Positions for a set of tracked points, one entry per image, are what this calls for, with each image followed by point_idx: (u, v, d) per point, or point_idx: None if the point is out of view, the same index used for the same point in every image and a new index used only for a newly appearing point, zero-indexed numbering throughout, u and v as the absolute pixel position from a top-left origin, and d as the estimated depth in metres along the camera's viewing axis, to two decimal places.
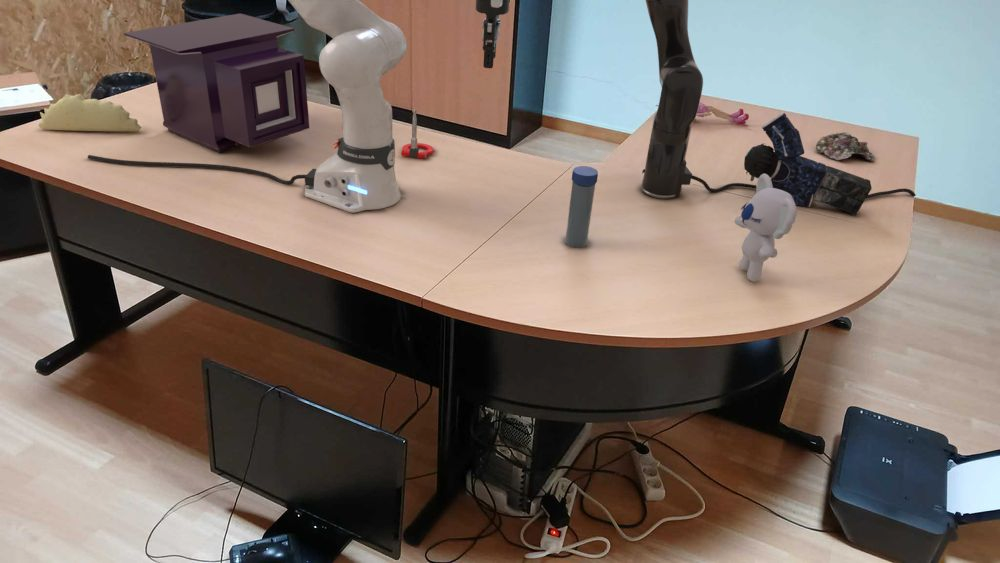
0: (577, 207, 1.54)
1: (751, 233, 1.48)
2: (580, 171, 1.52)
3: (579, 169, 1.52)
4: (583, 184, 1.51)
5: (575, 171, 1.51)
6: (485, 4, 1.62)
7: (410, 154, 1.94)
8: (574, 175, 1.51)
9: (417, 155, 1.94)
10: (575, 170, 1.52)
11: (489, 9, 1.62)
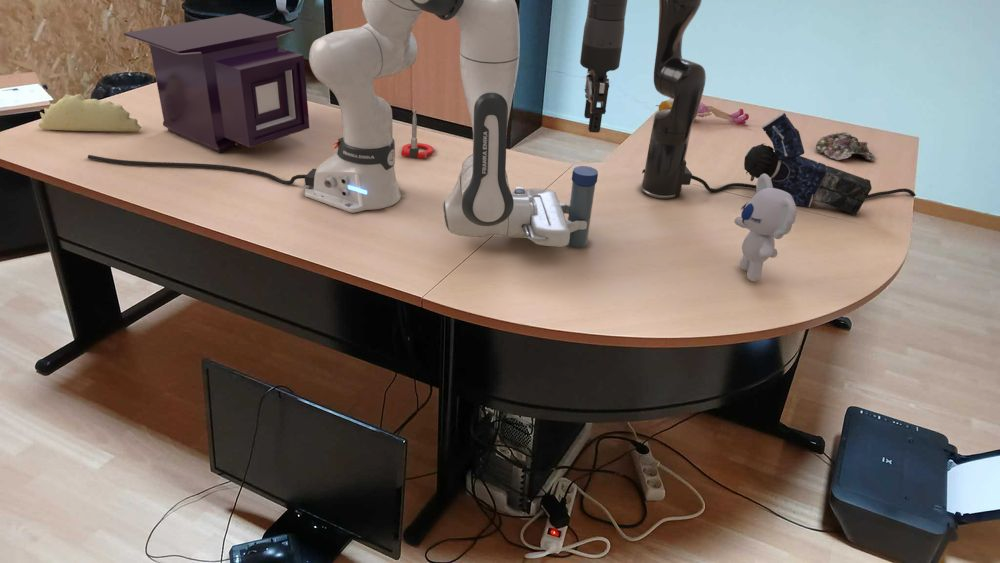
0: (577, 207, 1.54)
1: (751, 233, 1.48)
2: (580, 171, 1.52)
3: (579, 169, 1.52)
4: (583, 184, 1.51)
5: (575, 171, 1.51)
6: (595, 59, 1.37)
7: (410, 154, 1.94)
8: (574, 175, 1.51)
9: (417, 155, 1.94)
10: (575, 170, 1.52)
11: (599, 65, 1.37)
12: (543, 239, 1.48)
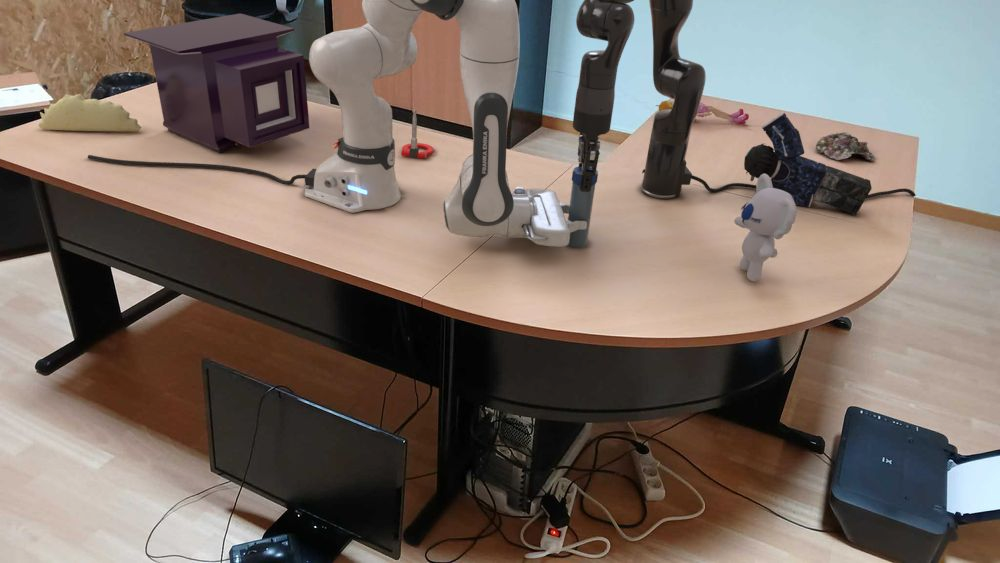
0: (577, 207, 1.54)
1: (751, 233, 1.48)
2: (580, 171, 1.52)
3: (579, 169, 1.52)
4: None
5: (575, 171, 1.51)
6: (587, 124, 1.43)
7: (410, 154, 1.94)
8: (574, 175, 1.51)
9: (417, 155, 1.94)
10: (575, 170, 1.52)
11: (591, 130, 1.44)
12: (543, 239, 1.48)
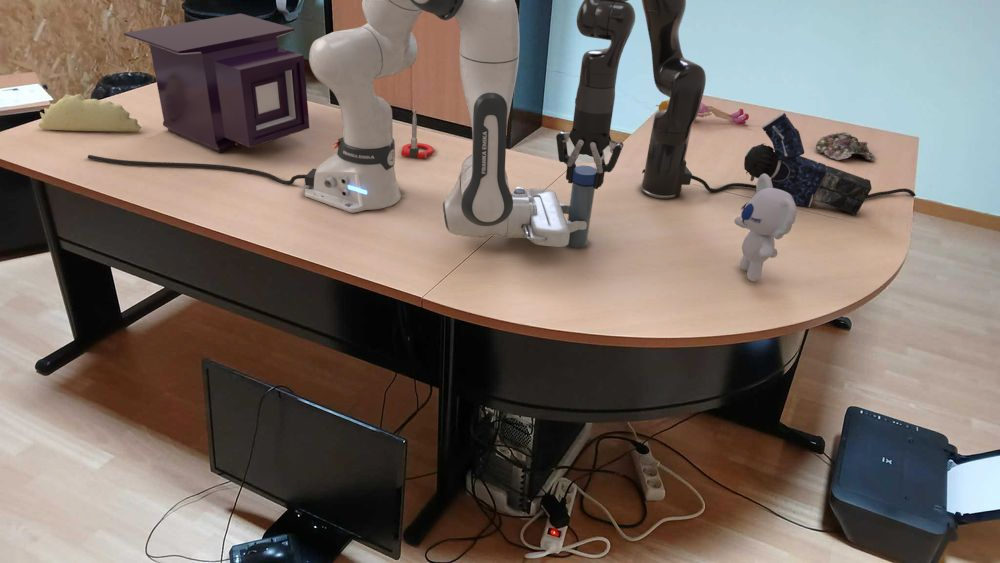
0: (577, 207, 1.54)
1: (751, 233, 1.48)
2: (586, 172, 1.51)
3: (581, 171, 1.51)
4: None
5: (585, 174, 1.50)
6: (607, 123, 1.44)
7: (410, 154, 1.94)
8: (587, 178, 1.50)
9: (417, 155, 1.94)
10: (583, 173, 1.50)
11: (609, 127, 1.45)
12: (543, 239, 1.48)
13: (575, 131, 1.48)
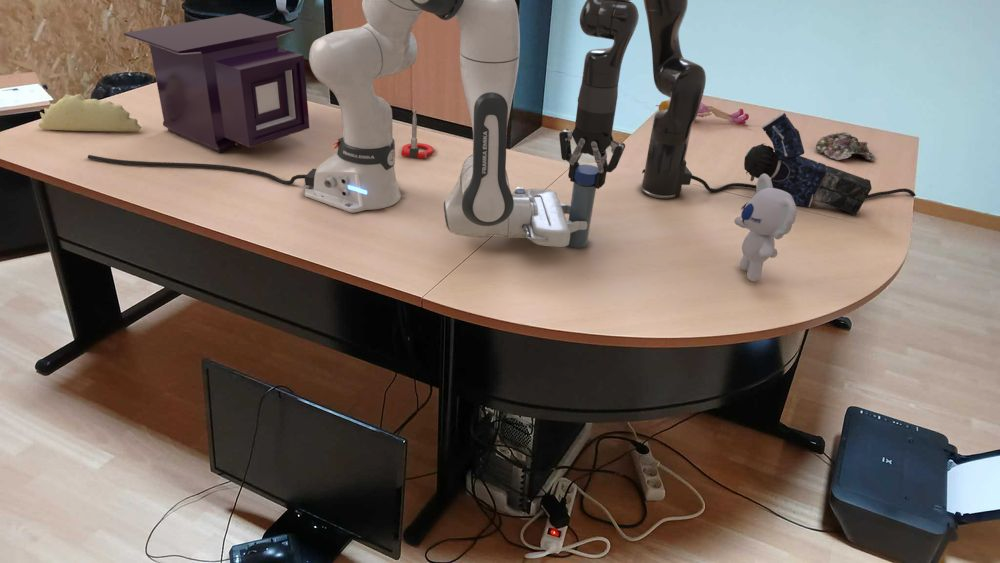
0: (578, 207, 1.54)
1: (751, 233, 1.48)
2: (593, 170, 1.51)
3: (590, 171, 1.51)
4: None
5: None
6: (608, 123, 1.43)
7: (410, 154, 1.94)
8: None
9: (417, 155, 1.94)
10: (595, 172, 1.50)
11: (610, 127, 1.45)
12: (543, 239, 1.48)
13: (577, 130, 1.48)
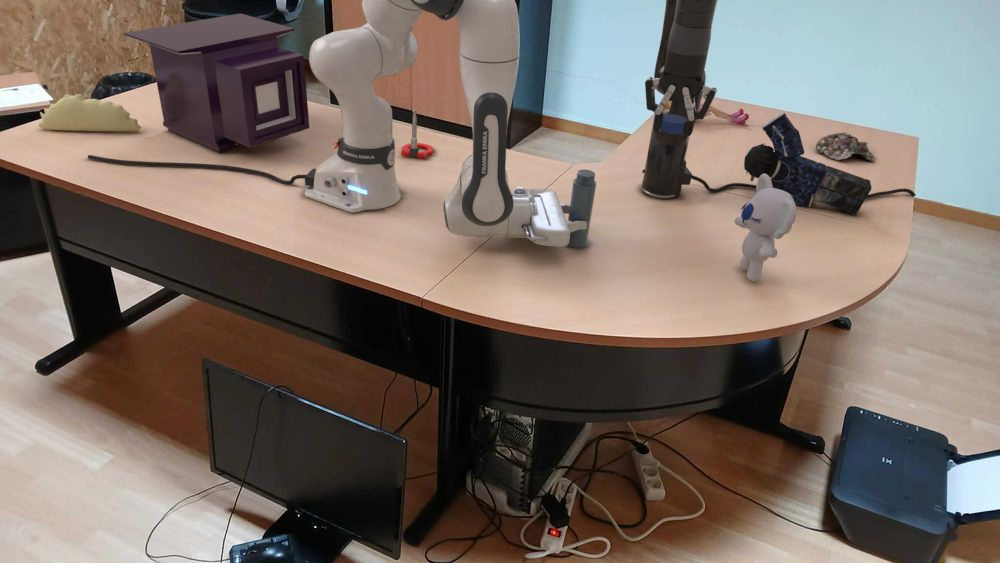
0: (577, 207, 1.54)
1: (751, 233, 1.48)
2: (680, 119, 1.45)
3: (678, 120, 1.44)
4: None
5: (685, 121, 1.44)
6: (702, 66, 1.37)
7: (410, 154, 1.94)
8: None
9: (417, 155, 1.94)
10: (683, 121, 1.44)
11: (703, 71, 1.38)
12: (543, 239, 1.48)
13: (666, 76, 1.41)
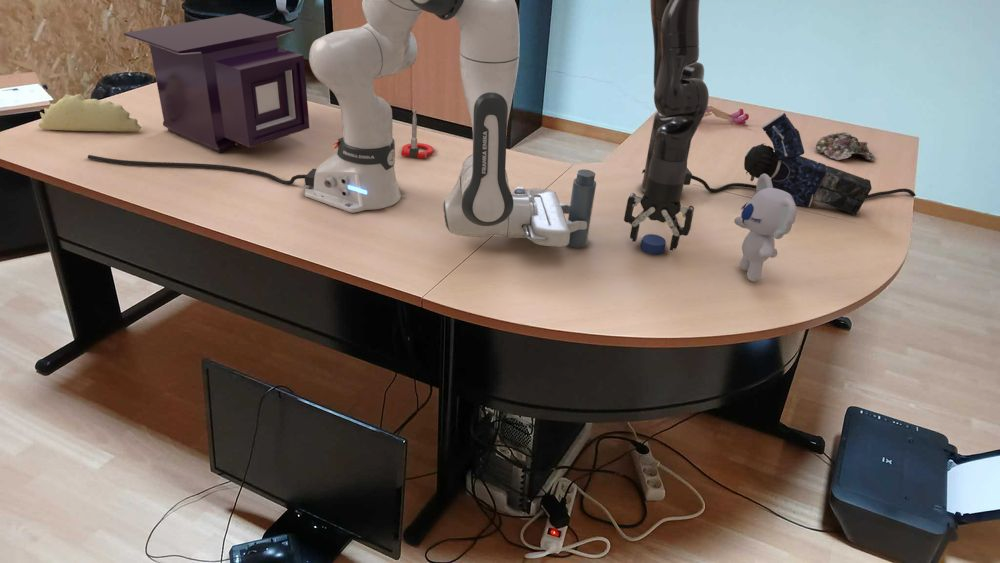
0: (577, 207, 1.54)
1: (751, 233, 1.48)
2: (659, 241, 1.59)
3: (657, 242, 1.58)
4: None
5: (663, 242, 1.59)
6: (679, 193, 1.51)
7: (410, 154, 1.94)
8: None
9: (417, 155, 1.94)
10: (662, 243, 1.58)
11: (680, 196, 1.52)
12: (543, 239, 1.48)
13: (648, 199, 1.54)
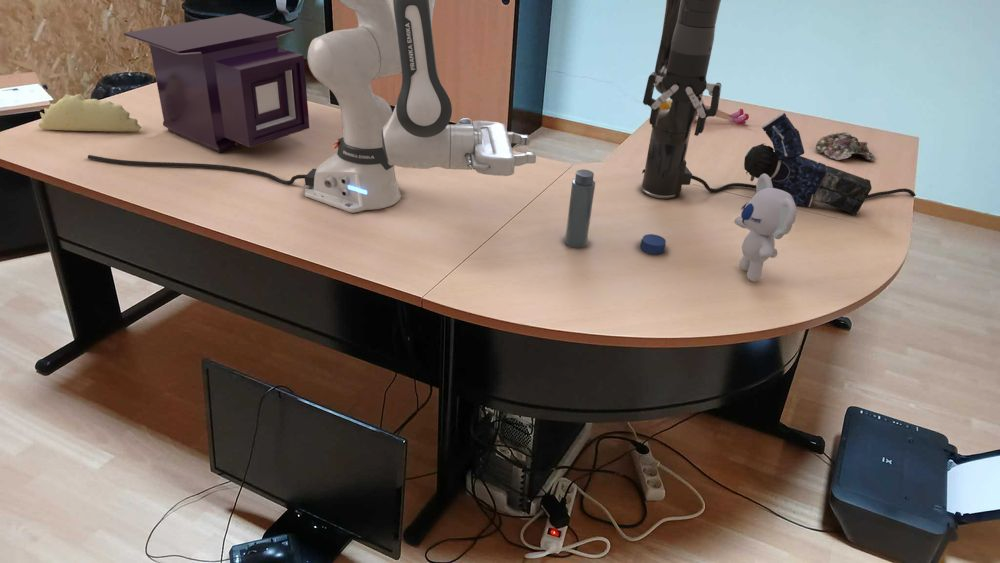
0: (577, 207, 1.54)
1: (751, 233, 1.48)
2: (659, 241, 1.59)
3: (657, 242, 1.58)
4: None
5: (663, 242, 1.59)
6: (705, 66, 1.37)
7: None
8: None
9: None
10: (662, 243, 1.58)
11: (706, 71, 1.38)
12: (486, 167, 1.39)
13: (671, 77, 1.41)
